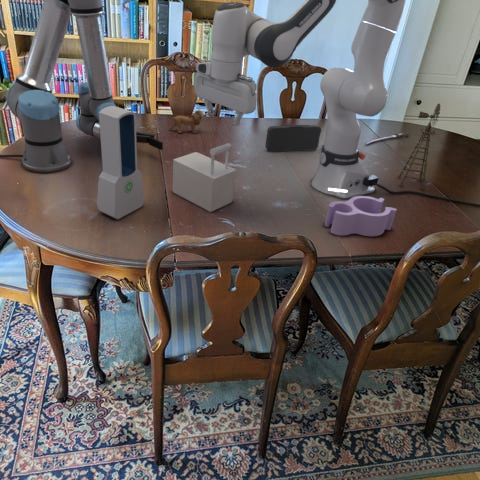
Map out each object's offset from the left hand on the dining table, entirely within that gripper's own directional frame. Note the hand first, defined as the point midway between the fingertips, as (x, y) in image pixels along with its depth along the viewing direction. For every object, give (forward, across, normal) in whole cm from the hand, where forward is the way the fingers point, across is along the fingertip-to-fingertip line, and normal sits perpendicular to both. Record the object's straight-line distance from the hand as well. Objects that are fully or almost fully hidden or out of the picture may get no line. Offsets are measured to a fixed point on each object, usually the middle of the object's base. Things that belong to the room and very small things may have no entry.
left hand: (147, 150), depth 161 cm
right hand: (+34, +2, +21) cm, 40 cm away
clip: (+72, -20, -6) cm, 75 cm away
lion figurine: (-17, -37, -6) cm, 41 cm away
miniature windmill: (+72, -65, -6) cm, 97 cm away
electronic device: (+17, +26, -6) cm, 32 cm away
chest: (+28, +2, -6) cm, 29 cm away
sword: (+46, -103, -6) cm, 113 cm away
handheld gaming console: (+24, -56, -6) cm, 61 cm away
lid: (+28, +2, +4) cm, 28 cm away
